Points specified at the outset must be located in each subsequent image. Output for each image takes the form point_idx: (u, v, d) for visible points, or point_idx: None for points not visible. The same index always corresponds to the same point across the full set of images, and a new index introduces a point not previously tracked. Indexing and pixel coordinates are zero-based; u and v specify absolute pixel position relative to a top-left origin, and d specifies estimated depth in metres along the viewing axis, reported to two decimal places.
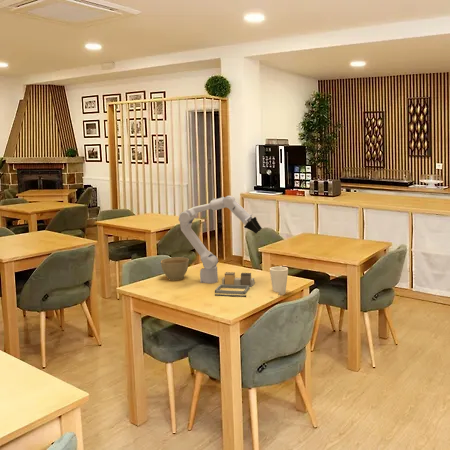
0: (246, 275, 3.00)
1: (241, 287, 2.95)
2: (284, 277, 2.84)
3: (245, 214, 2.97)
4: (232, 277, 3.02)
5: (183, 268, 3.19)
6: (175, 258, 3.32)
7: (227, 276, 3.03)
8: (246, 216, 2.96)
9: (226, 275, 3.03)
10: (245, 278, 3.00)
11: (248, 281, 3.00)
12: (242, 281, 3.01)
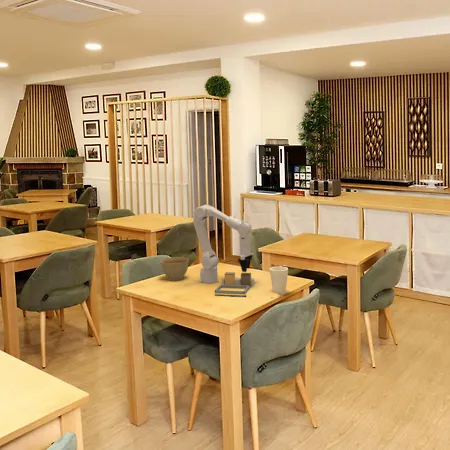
0: (246, 275, 3.00)
1: (241, 287, 2.95)
2: (284, 277, 2.84)
3: (247, 250, 2.97)
4: (232, 277, 3.02)
5: (183, 268, 3.19)
6: (175, 258, 3.32)
7: (227, 276, 3.03)
8: (247, 252, 2.97)
9: (226, 275, 3.03)
10: (245, 278, 3.00)
11: (248, 281, 3.00)
12: (242, 281, 3.01)
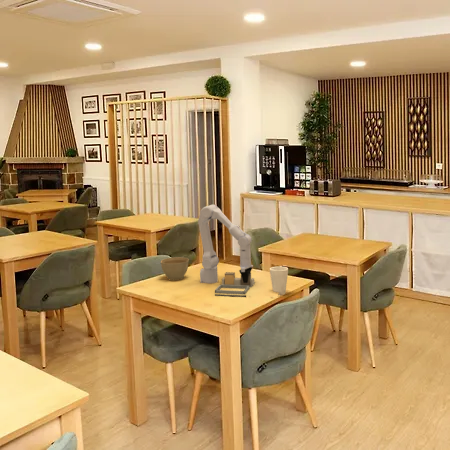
0: None
1: (241, 287, 2.95)
2: (284, 277, 2.84)
3: (248, 262, 2.98)
4: (232, 277, 3.02)
5: (183, 268, 3.19)
6: (175, 258, 3.32)
7: (227, 276, 3.03)
8: (247, 264, 2.98)
9: (226, 275, 3.03)
10: None
11: (248, 281, 3.00)
12: (242, 281, 3.01)
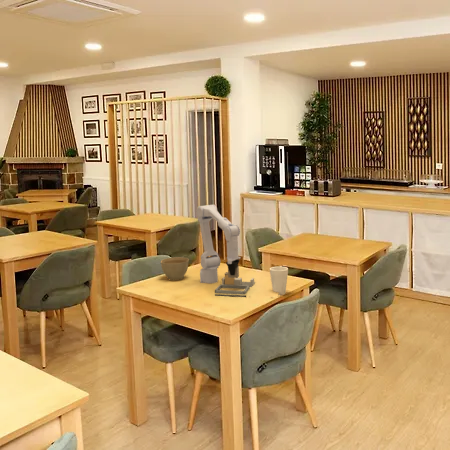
0: None
1: (241, 287, 2.95)
2: (284, 277, 2.84)
3: (235, 254, 2.87)
4: None
5: (183, 268, 3.19)
6: (175, 258, 3.32)
7: (227, 276, 3.03)
8: (234, 256, 2.87)
9: (226, 275, 3.03)
10: None
11: (236, 274, 2.89)
12: (229, 274, 2.90)
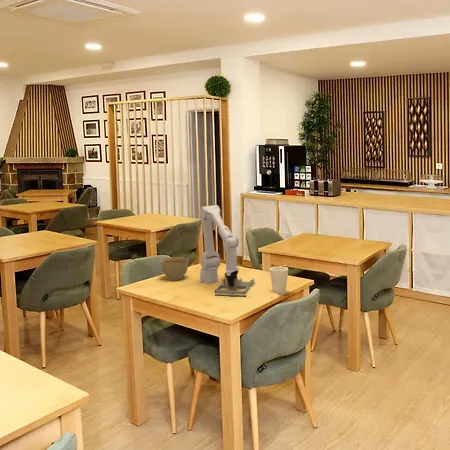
0: None
1: (241, 287, 2.95)
2: (284, 277, 2.84)
3: (233, 265, 2.86)
4: None
5: (183, 268, 3.19)
6: (175, 258, 3.32)
7: None
8: (233, 268, 2.86)
9: None
10: None
11: (234, 285, 2.89)
12: (228, 285, 2.90)
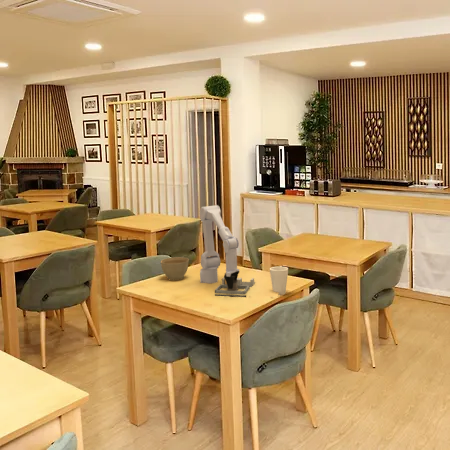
0: None
1: (241, 287, 2.95)
2: (284, 277, 2.84)
3: (234, 266, 2.86)
4: None
5: (183, 268, 3.19)
6: (175, 258, 3.32)
7: None
8: (233, 268, 2.86)
9: None
10: None
11: (235, 289, 2.89)
12: (228, 289, 2.90)
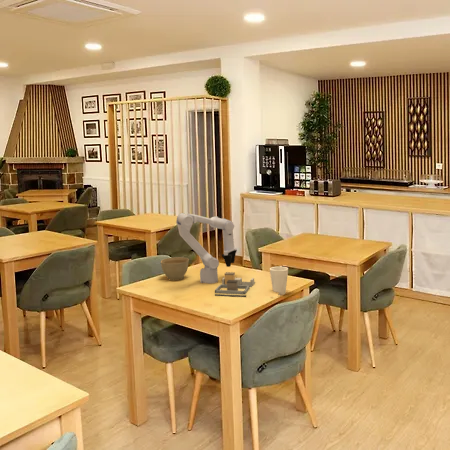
0: (232, 282, 2.89)
1: (241, 287, 2.95)
2: (284, 277, 2.84)
3: (231, 246, 3.09)
4: (232, 277, 3.02)
5: (183, 268, 3.19)
6: (175, 258, 3.32)
7: (227, 276, 3.03)
8: (230, 248, 3.09)
9: (226, 275, 3.03)
10: (231, 286, 2.89)
11: (235, 289, 2.89)
12: (228, 289, 2.90)
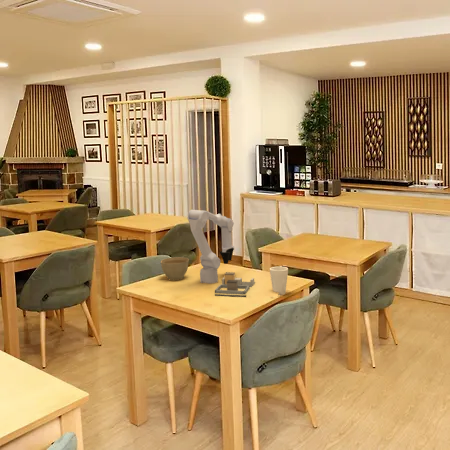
0: (232, 282, 2.89)
1: (241, 287, 2.95)
2: (284, 277, 2.84)
3: (229, 243, 3.17)
4: (232, 277, 3.02)
5: (183, 268, 3.19)
6: (175, 258, 3.32)
7: (227, 276, 3.03)
8: (228, 245, 3.17)
9: (226, 275, 3.03)
10: (231, 286, 2.89)
11: (235, 289, 2.89)
12: (228, 289, 2.90)
